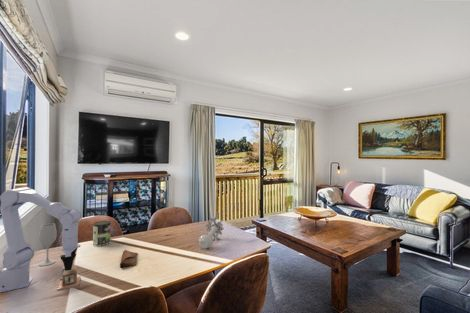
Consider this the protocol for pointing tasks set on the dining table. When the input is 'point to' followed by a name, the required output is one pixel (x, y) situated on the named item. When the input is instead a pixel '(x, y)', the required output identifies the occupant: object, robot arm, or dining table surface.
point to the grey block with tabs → (62, 272)
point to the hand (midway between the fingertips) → (69, 266)
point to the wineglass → (47, 239)
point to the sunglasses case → (128, 259)
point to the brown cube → (69, 277)
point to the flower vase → (211, 234)
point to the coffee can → (101, 233)
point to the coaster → (68, 285)
